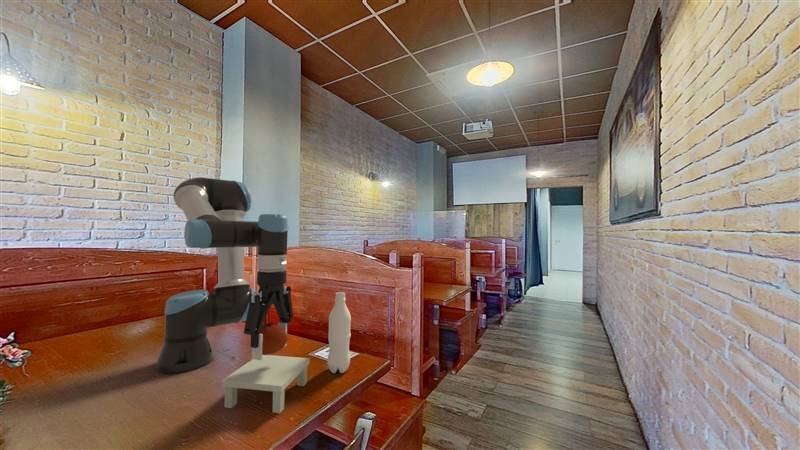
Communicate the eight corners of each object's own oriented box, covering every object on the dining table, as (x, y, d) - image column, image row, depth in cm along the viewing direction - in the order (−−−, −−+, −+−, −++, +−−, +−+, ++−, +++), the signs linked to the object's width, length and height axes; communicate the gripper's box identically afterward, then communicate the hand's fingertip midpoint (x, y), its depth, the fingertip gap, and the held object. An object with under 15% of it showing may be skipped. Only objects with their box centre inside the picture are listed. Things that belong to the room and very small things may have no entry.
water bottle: (344, 376, 93) (346, 295, 93) (323, 373, 94) (325, 294, 95) (352, 366, 100) (354, 291, 100) (332, 364, 101) (334, 290, 102)
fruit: (265, 362, 76) (265, 331, 76) (245, 354, 81) (245, 324, 81) (293, 351, 84) (294, 322, 84) (274, 344, 89) (274, 317, 89)
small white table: (221, 408, 76) (222, 380, 76) (259, 377, 91) (259, 354, 91) (280, 414, 73) (281, 386, 74) (308, 382, 89) (309, 358, 89)
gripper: (253, 276, 71) (250, 371, 71) (307, 266, 92) (305, 340, 92) (228, 274, 74) (225, 366, 73) (286, 265, 94) (284, 337, 94)
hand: (270, 351), depth 82 cm, fingers closed on fruit, 9 cm apart
